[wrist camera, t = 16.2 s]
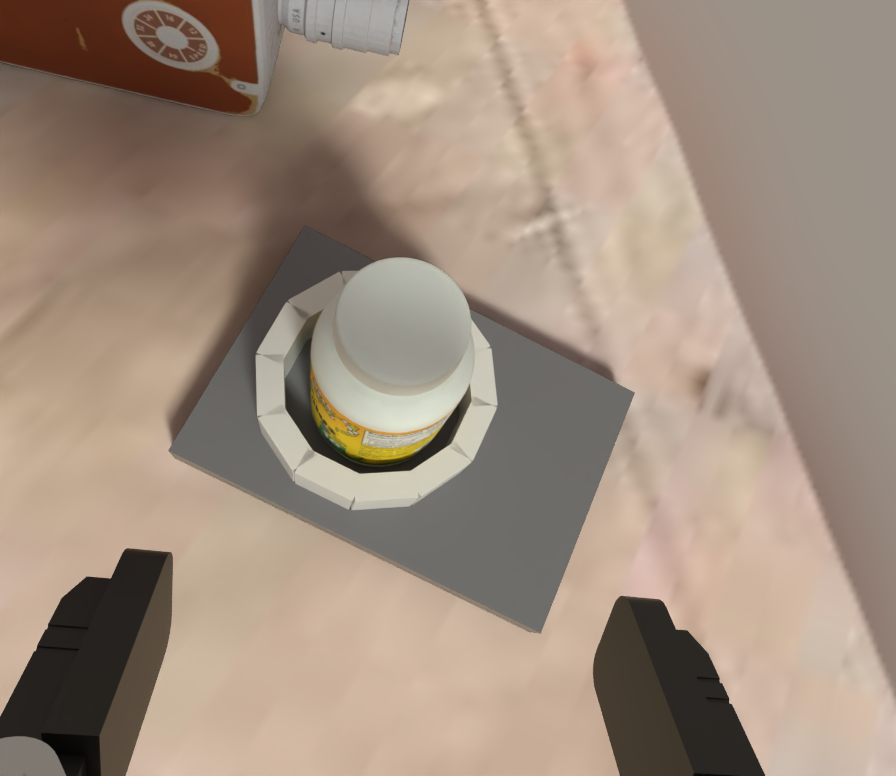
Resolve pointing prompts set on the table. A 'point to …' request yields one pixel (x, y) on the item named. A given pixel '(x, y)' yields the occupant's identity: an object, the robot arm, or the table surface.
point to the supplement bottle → (390, 361)
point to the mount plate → (432, 470)
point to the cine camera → (187, 42)
